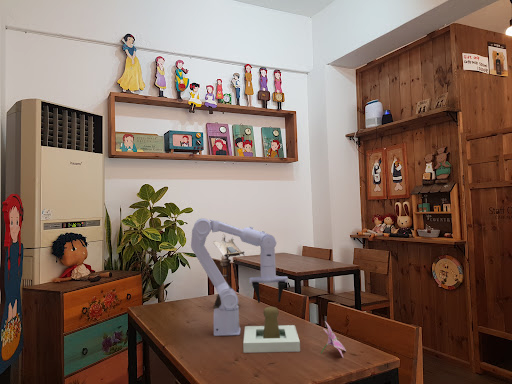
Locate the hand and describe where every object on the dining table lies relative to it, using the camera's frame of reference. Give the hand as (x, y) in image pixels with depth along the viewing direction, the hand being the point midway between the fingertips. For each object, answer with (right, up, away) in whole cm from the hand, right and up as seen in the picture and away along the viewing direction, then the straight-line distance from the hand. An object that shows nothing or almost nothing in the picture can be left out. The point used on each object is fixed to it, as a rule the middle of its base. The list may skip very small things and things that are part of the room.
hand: (269, 301), depth 146 cm
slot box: (0, -10, -15) cm, 18 cm away
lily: (+19, -9, -26) cm, 34 cm away
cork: (0, -9, -14) cm, 17 cm away
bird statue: (-17, -13, +32) cm, 38 cm away
